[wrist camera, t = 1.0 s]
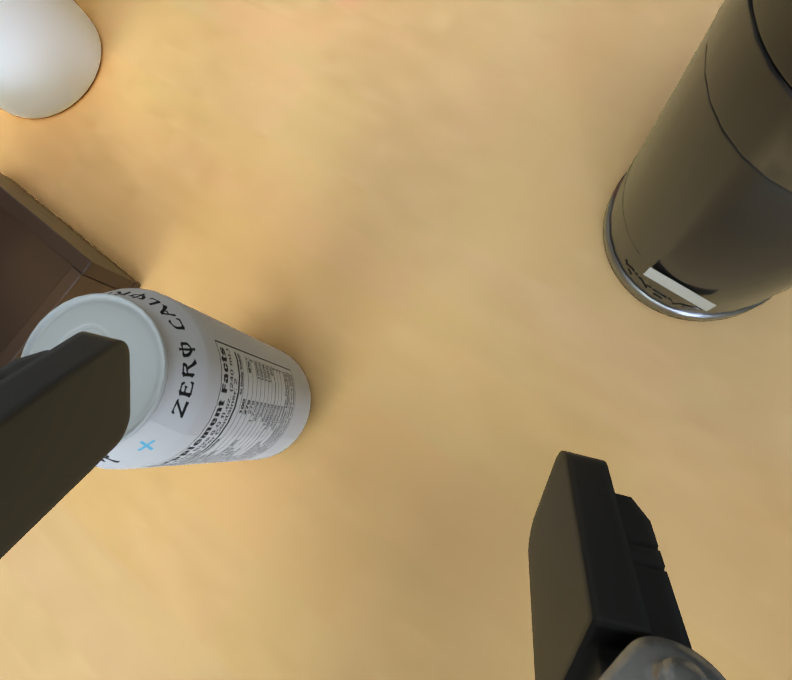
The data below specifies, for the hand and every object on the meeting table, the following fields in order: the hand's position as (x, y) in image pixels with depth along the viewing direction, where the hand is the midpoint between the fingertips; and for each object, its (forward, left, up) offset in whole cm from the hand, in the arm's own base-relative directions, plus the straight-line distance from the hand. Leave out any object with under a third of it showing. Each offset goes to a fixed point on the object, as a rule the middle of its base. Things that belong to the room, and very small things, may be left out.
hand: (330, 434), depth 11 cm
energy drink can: (+4, -8, -21) cm, 23 cm away
